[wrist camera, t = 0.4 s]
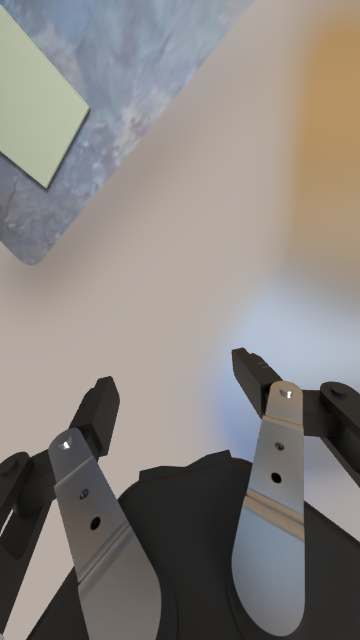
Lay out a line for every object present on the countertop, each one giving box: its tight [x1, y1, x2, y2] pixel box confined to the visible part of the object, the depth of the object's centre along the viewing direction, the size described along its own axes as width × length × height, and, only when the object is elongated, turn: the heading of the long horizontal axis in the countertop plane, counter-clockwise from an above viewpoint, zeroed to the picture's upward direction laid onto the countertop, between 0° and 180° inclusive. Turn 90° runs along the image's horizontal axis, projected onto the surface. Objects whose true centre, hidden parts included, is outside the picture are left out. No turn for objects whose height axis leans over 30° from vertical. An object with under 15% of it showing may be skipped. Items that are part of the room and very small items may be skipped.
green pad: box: [0, 4, 90, 188], centre depth 23 cm, size 12×12×1 cm
